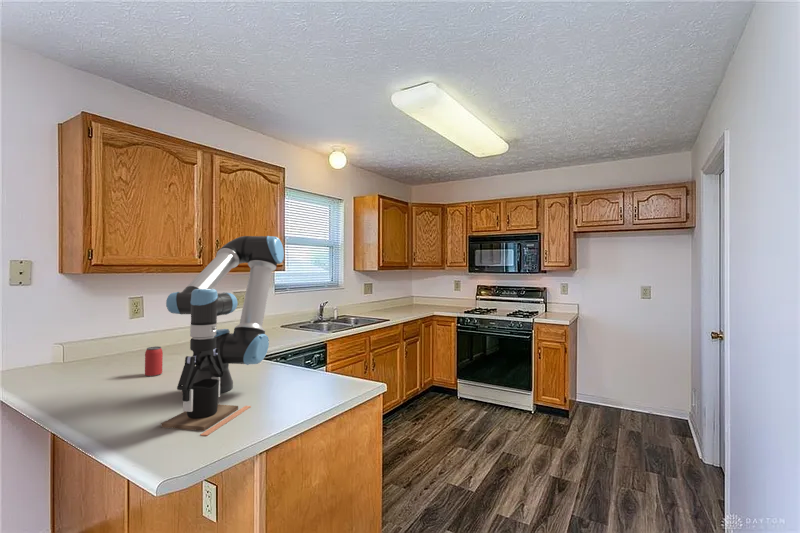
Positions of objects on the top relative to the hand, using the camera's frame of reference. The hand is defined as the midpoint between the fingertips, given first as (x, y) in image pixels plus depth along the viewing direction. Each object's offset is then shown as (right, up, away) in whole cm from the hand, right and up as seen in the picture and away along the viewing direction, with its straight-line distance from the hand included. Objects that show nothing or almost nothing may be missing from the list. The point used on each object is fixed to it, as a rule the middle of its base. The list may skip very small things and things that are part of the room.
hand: (202, 403), depth 125 cm
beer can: (-46, -4, +49) cm, 67 cm away
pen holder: (0, -4, 0) cm, 4 cm away
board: (0, -5, 0) cm, 4 cm away
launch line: (+9, -5, -1) cm, 10 cm away
